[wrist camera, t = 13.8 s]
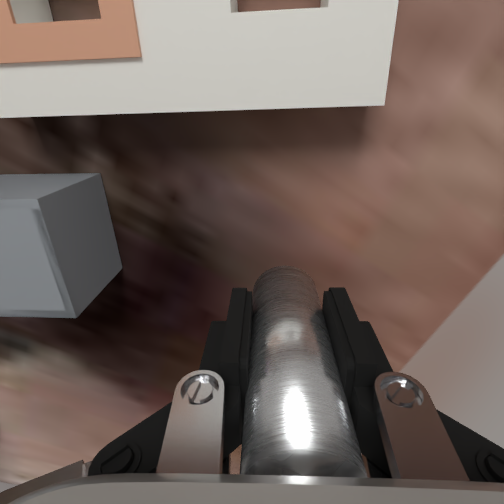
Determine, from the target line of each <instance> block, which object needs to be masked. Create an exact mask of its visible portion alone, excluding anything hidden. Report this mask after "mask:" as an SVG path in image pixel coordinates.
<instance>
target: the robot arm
mask: <svg viewBox="0 0 504 504" xmlns="http://www.w3.org/2000/svg"><path fill="white" fill-rule="evenodd" d="M322 312H323V316H324V319H325V323H326V327H327V330H328V334H329V338H330V341H331V345H332V349H333V352H334V356H335V360H336V364H337V367H338V371H339V375H340V378H341V382H342V386H343V389H344V393H345V396H346V399H347V403H348V407H349V410H350V414H351V418H352V421H353V425H354V429H355V432H356V436H357V440H358V443H359V447H360V451H361V454H362V458H363V462H364V465H365V469H366V473H367V476H368V478H356V477H319V476H280V475H235V474H230V466H231V455H230V453H232V452H233V451H234V450H235V449H236V448H237V447H238V446H239V445H241V444H242V437H243V424H244V410H245V398H246V393H247V391H248V377H249V362H250V347H251V332H252V317H253V299H252V292H247V288H233V289H232V294H231V300H230V305H229V310H228V316H227V321H212V322H211V325H210V329H209V333H208V337H207V341H206V345H205V349H204V353H203V356H202V360H201V364H200V368H199V371H194V372H192V373H189V374H188V375H186V376H185V377H183V378H182V379H181V380H180V382H179V383H178V384H177V387H176V389H175V393H174V397H173V401H172V402H171V403H169V404H168V405H166V406H165V407H163V408H162V409H160V410H159V411H157V412H156V413H154V414H153V415H151V416H150V417H148V418H147V419H145V420H144V421H142V422H141V423H139V424H138V425H136V426H135V427H133V428H132V429H130V430H129V431H127V432H126V433H124V434H123V435H121V436H119V437H118V438H116V439H115V440H113V441H112V442H110V443H109V444H108V445H106V446H105V447H104V448H103V449H101V450H100V451H99V453H98V454H97V455H96V456H95V458H94V459H93V460H92V461H90V462H87V463H85V464H84V461H83V460H81V461H78V462H76V463H73V464H71V465H68V466H66V467H63V468H61V469H58V470H56V471H53V472H50V473H48V474H45V475H43V476H40V477H38V478H35V479H33V480H30V481H28V482H25V483H23V484H20V485H18V486H15V487H13V488H10V489H7V490H5V491H3V492H1V493H0V504H504V449H503V448H501V447H500V446H498V445H496V444H495V443H493V442H491V441H489V440H487V439H486V438H484V437H483V436H481V435H479V434H478V433H476V432H474V431H472V430H471V429H469V428H467V427H466V426H464V425H462V424H460V423H459V422H457V421H455V420H453V419H452V418H450V417H448V416H447V415H445V414H443V413H442V412H440V411H438V410H436V408H435V406H434V404H433V402H432V400H431V398H430V396H429V394H428V392H427V390H426V389H425V388H424V386H423V385H422V384H421V383H420V382H419V381H417V380H416V379H414V378H412V377H411V376H409V375H406V374H403V373H399V372H393V370H392V368H391V366H390V364H389V362H388V360H387V357H386V355H385V353H384V351H383V349H382V347H381V345H380V343H379V341H378V339H377V337H376V334H375V332H374V330H373V328H372V326H371V324H370V323H369V322H368V321H359V319H358V317H357V315H356V313H355V310H354V308H353V306H352V303H351V301H350V299H349V296H348V294H347V292H346V289H345V288H329V291H324V295H323V308H322Z"/></svg>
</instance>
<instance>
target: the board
mask: <svg viewBox="0 0 504 504" xmlns="http://www.w3.org/2000/svg"><path fill="white" fill-rule="evenodd" d="M98 3H99V8H100V13H101V18H102V19H91V20H73V21H56V22H53V18H52V13H51V9H50V5H49V1H48V0H0V118H12V117H43V116H73V115H104V114H135V113H165V112H196V111H226V110H257V109H288V108H318V107H349V106H380V105H384V104H385V96H386V89H387V81H388V74H389V67H390V59H391V52H392V45H393V37H394V30H395V23H396V15H397V8H398V0H321V5H320V8H305V9H288V10H270V11H253V12H238V6H237V0H98Z"/></svg>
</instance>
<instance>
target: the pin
mask: <svg viewBox="0 0 504 504" xmlns="http://www.w3.org/2000/svg"><path fill="white" fill-rule="evenodd" d="M240 475H280V476H319V477H356V478H368V476H367V473H366V469H365V465H364V462H363V458H362V454H361V451H360V447H359V443H358V440H357V436H356V432H355V429H354V425H353V421H352V418H351V414H350V410H349V407H348V403H347V399H346V396H345V393H344V389H343V386H342V382H341V378H340V375H339V371H338V367H337V364H336V360H335V356H334V352H333V349H332V345H331V341H330V338H329V334H328V330H327V327H326V323H325V319H324V316H323V312H322V308H321V304H320V301H319V297H318V293H317V290H316V286H315V283H314V281H313V279H312V278H311V277H310V276H309V275H308V274H307V273H306V272H305V271H303V270H301V269H299V268H297V267H293V266H278V267H274V268H271V269H269V270H267V271H266V272H264V273H263V274H262V275H261V276H260V277H259V278H258V279H257V281H256V283H255V285H254V289H253V317H252V332H251V347H250V362H249V377H248V391H247V393H246V398H245V410H244V424H243V437H242V451H241V464H240Z"/></svg>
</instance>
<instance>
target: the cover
mask: <svg viewBox="0 0 504 504" xmlns="http://www.w3.org/2000/svg"><path fill="white" fill-rule="evenodd" d="M121 269H122V264H121V259H120V255H119V251H118V247H117V242H116V238H115V234H114V229H113V225H112V221H111V217H110V212H109V208H108V204H107V199H106V195H105V191H104V187H103V182H102V178H101V174H100V173H77V174H8V175H0V316H4V317H50V318H77V317H78V316H79V315H80V314H81V313H82V312H83V310H84V309H85V308H86V307H87V306H88V305H89V304H90V303H91V302H92V301H93V300H94V298H95V297H96V296H97V295H98V294H99V293H100V292H101V291H102V290H103V289H104V288H105V287H106V285H107V284H108V283H109V282H110V281H111V280H112V279H113V278H114V277H115V276H116V275H117V274H118V272H119V271H120V270H121Z"/></svg>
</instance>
